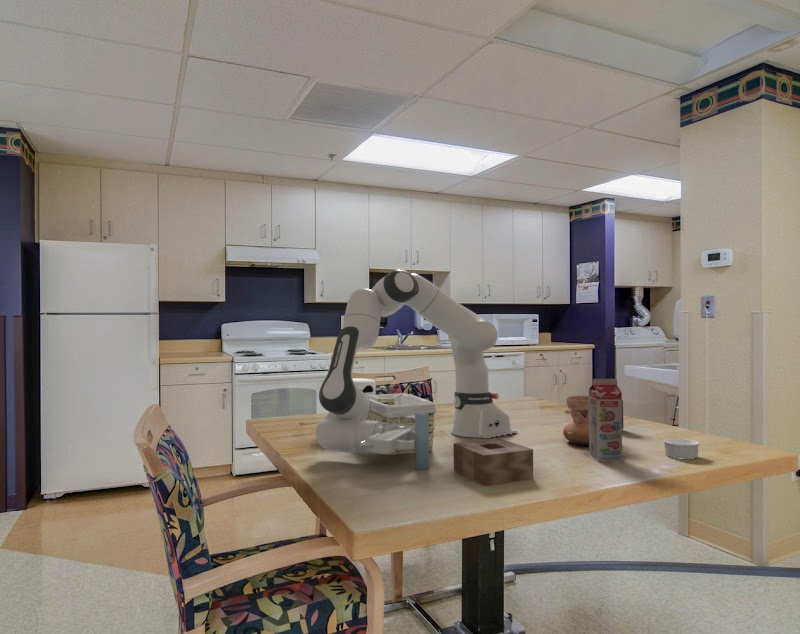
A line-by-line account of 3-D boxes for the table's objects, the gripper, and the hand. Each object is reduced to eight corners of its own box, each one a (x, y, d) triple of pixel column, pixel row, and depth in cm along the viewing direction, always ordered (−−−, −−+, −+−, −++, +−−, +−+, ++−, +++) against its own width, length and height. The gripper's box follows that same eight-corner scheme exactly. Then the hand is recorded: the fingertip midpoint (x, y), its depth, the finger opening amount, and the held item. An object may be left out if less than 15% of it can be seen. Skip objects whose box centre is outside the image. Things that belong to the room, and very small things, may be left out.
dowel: (425, 465, 144) (424, 412, 144) (431, 468, 141) (431, 414, 141) (412, 467, 143) (412, 413, 143) (419, 470, 139) (418, 415, 140)
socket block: (499, 464, 145) (499, 438, 145) (533, 478, 132) (533, 449, 132) (453, 470, 139) (453, 443, 139) (484, 485, 126) (483, 455, 126)
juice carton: (589, 455, 154) (588, 377, 154) (613, 455, 154) (612, 377, 154) (597, 461, 147) (596, 380, 147) (622, 461, 147) (621, 380, 147)
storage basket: (438, 452, 159) (437, 401, 159) (386, 458, 153) (385, 405, 153) (406, 436, 181) (406, 392, 182) (360, 441, 175) (359, 395, 175)
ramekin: (665, 459, 150) (665, 443, 150) (662, 452, 158) (661, 437, 158) (701, 461, 147) (701, 445, 147) (696, 454, 155) (696, 439, 155)
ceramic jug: (582, 450, 160) (582, 402, 160) (550, 441, 173) (549, 396, 173) (628, 445, 167) (628, 398, 167) (594, 436, 180) (593, 393, 180)
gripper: (355, 433, 137) (407, 436, 132) (386, 419, 156) (432, 422, 151) (355, 458, 137) (407, 462, 132) (386, 441, 156) (432, 444, 151)
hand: (420, 441), depth 142 cm, fingers open, 8 cm apart
